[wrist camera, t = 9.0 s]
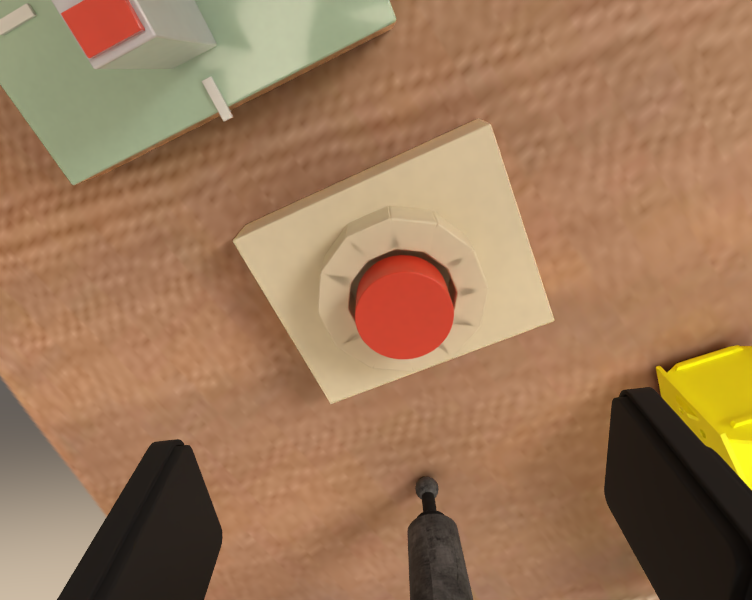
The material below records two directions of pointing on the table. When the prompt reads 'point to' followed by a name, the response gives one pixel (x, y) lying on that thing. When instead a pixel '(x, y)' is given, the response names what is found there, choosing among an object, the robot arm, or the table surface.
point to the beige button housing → (400, 237)
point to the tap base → (166, 74)
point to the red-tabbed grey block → (137, 32)
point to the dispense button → (403, 307)
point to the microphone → (435, 552)
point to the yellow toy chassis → (716, 402)
